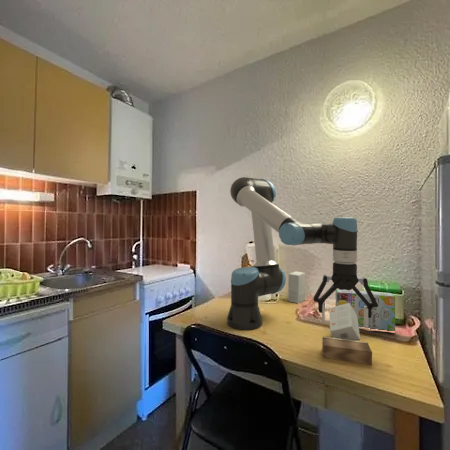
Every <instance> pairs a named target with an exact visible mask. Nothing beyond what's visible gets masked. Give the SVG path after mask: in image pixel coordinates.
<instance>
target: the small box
mask: <svg viewBox="0 0 450 450" xmlns="http://www.w3.org/2000/svg"><path fill="white" fill-rule="evenodd" d="M329 332H330V334H331V336H332V338H338V339H345V340H353V341H361V335H360V330H359V326H358V320H357V315H356V313H355V311H354V310H353V308H352V306H351V305H350V303H347V304H343V305H339V306H336V305H335V306H333V307H329Z"/></svg>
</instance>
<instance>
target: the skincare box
mask: <svg viewBox="0 0 450 450" xmlns="http://www.w3.org/2000/svg"><path fill="white" fill-rule="evenodd" d="M287 281H288V283H287V284H288V286H287V287H288V289H287V290H288V293H287V297H288V298H287V299H288V302H290V303H294V304H300V303H302V302H304V301H305V300H306V272H303V271H296V270H295V271H293V272H290V273H288V280H287Z"/></svg>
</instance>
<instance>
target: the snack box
mask: <svg viewBox="0 0 450 450" xmlns="http://www.w3.org/2000/svg"><path fill="white" fill-rule="evenodd" d="M359 291H360V292H361V294H362V295H363V296H364V297H365V298H366V300H367V301H368V302H369V303H372V302H371V300H370V298H369V296H368V294H367V292H366V290H359ZM371 292H372V294H373V296H374V298H375V300H376V302H377V304H378V307H373V308H372V317H371V318H368V328H370V329H378V330H387V331H395V332H396V296H395V295H394V294H393V293H391V292H383V291H382V292H381V291H380V292H379V291H371ZM347 303H350V305H351V306H352V308H353V310H354V311H355V313H356V315H357V320H358V326H359V327H365V326H364V306H366V304H365V303H364V302H363V301H362V300H361V298H360V297H359V296H358V295H357V294H356V293H355V291H354V290H353V289H351V290H340V289H336V290H335V307H336V306H339V305H343V304H347Z"/></svg>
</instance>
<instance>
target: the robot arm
mask: <svg viewBox="0 0 450 450" xmlns="http://www.w3.org/2000/svg"><path fill="white" fill-rule="evenodd" d="M229 192H230V196H231V199H232V200H233V201H234V202H235V203H236V205H239V206H240V207H245V208H246V209H247V210H249V211H250V212H251V220H252V222H251V223H252V230H253V232H252V233H253V241H254V251H255V252H254V253H255V257H256V258H255V263H254V264H253V266H246V267H245V266H243V267H238V268H236V269H234V270H233V271H232V272H231V276H230V277H231V278H230V286H231V287H230V300H231V301H230V308H229V310H228V314H227V317H226V324H227V326H229V327H230V328H233V329H236V330H243V331H244V330H245V331H248V330H255V329H259V328H260V327H261V326H262V325H263V316H262V313H261V310H260V308H259V307H260V306H259V297H262V296H267V295H274V294H276V293H279V292H281V291H282V290H283V288H284V287H285V285H286V279H287V277H286V274H285V271H284V270H283V269H282V268H281V267H280V263H279V262H278V261H277V260H276V258H275V257H276V256H275V249H274V239H273V231H272V230H274V231H275V232H277V233H278V236H279V239H280V241H281V242H282V243H283V244H284V245H286V246H301V245H311V244H313V245H314V244H327V245H328V244H329V245H332V261H333V263H332V274H331V275H327V274H323V277H322V282H320V285H319V287H318V288H317V290H316V292H315V294H314V296H313V302H314V303H317V304H318V312H319V313H321V323H322V324H325V323H326V322H325V318H326V317H325V315H326V314H325V313H326V311H325V310H326V307H325V303H326V301H327V299H328V298H329V297H331V295H332V294H333V293H334V292H336V290H352V291H355V293H356V294H357V295H358V296H359V297H360V298H361V300H362V301H363V302H364V303H365V304H366V306H364V326H365V328H368V318H371V317H372V308H373V307H378V304H377V302H376V300H375V298H374V296H373V294H372V292H373V291H371V289H370V287H369V286H370V285H369V282H368V281H369V280H368V278H367V277H365V276H363V277H358V269H357V268H358V264H357V262H358V232H359V229H358V220H357V218H355V217H342V216H341V217H334V218H333V220H332V222H330V223H329V222H301V221H298V220H297V219H295V218H294V217H293V216H291V215H290V214H289V213H287V212H285V211H284V210H282V209H281V208H279V207H278V206H276V204H274V203H273V202H274V201H275V198H276V195H277V191H276V187H275V185H274V184H273V183H272V182H271V181H270V180H267V179H264V178H253V177H248V176H247V177H245V176H244V177H242V176H241V177H239V178H237V179H236V180H234V181H233V182H232V183H231V187H230V191H229ZM330 280H331V281H332V283H333V284H332V285H331V286H330V287H329V289H327V290H326V291H325V293H324V294H322V292H323V290H324V289H325V287H326V285H327V283H329V282H330ZM358 283H360V284H361V285H362V286H363V288H364V289H365V290H364V291H366V292H367V294H368V296H369V298H370V300H371V302H372V303H369V302H368V301H367V300H366V298H365V297H364V296H363V295H362V294H361V292H360V291H361V290H359V288H357V287H356V285H357V284H358ZM321 294H322V295H321Z"/></svg>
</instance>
